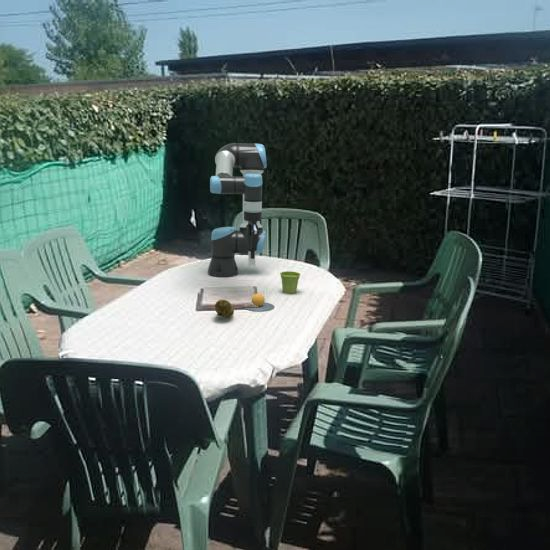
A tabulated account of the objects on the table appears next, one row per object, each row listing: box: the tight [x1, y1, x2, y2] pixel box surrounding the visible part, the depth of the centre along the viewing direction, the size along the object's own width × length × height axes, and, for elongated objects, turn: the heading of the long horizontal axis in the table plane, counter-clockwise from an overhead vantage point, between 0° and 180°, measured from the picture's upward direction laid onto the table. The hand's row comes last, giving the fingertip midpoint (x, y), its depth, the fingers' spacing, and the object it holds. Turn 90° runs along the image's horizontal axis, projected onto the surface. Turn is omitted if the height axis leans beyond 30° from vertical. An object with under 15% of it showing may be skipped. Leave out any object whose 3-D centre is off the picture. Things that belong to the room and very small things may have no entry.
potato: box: [214, 299, 235, 319], centre depth 228 cm, size 8×13×8 cm, turn 158°
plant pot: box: [279, 270, 301, 295], centre depth 266 cm, size 9×9×9 cm
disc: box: [243, 301, 275, 313], centre depth 244 cm, size 13×13×1 cm
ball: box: [251, 293, 266, 306], centre depth 244 cm, size 6×6×6 cm
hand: (251, 265), depth 253 cm, fingers closed
